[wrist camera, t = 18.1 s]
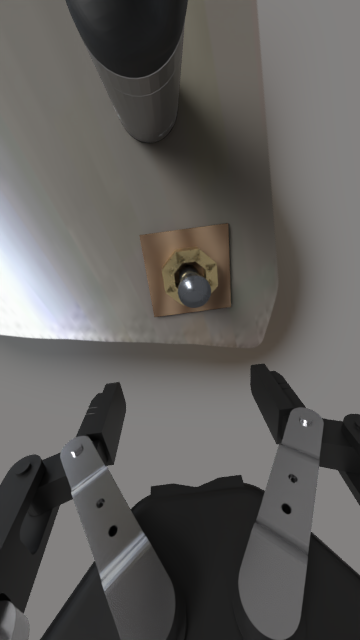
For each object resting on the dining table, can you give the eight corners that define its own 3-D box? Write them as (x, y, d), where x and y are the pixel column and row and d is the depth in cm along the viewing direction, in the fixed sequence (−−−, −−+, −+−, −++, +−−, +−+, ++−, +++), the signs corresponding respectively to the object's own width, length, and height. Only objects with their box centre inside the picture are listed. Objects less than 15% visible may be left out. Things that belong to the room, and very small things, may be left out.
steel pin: (170, 274, 43) (171, 293, 32) (187, 256, 42) (194, 268, 31) (188, 291, 45) (194, 314, 34) (205, 273, 43) (218, 291, 32)
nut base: (154, 315, 47) (153, 325, 43) (140, 235, 41) (136, 236, 36) (229, 305, 47) (236, 314, 43) (226, 223, 41) (234, 223, 36)
